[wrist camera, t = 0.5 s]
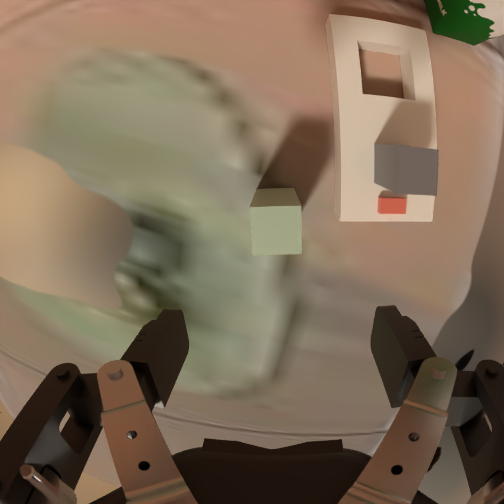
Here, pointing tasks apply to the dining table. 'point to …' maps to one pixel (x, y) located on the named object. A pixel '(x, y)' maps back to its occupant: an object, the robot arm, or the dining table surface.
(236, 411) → the dining table surface
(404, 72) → the white plate with window
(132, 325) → the dining table surface
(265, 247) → the green plug
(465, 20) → the milk carton
